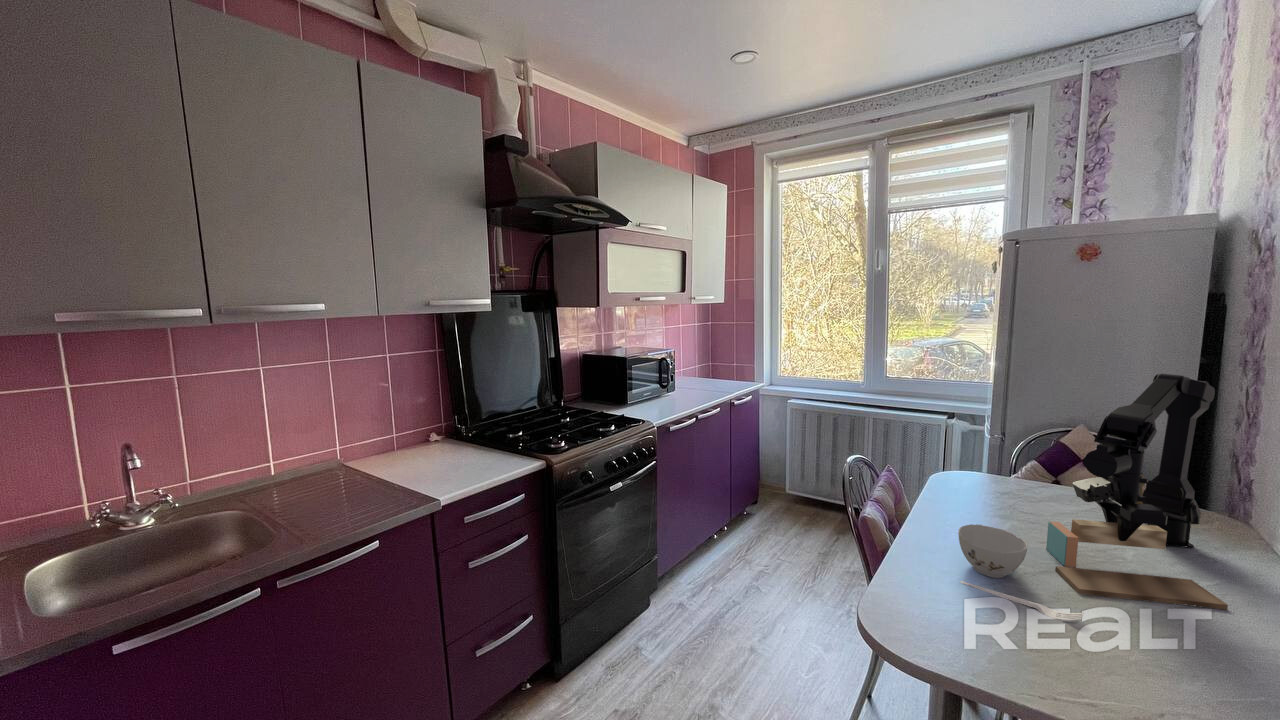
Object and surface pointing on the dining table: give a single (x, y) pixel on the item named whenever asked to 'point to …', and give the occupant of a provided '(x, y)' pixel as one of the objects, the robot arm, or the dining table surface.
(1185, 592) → the rest board
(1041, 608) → the fork
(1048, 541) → the glazed tile
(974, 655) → the dining table surface
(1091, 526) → the oak scraper
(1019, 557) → the floral ceramic bowl
